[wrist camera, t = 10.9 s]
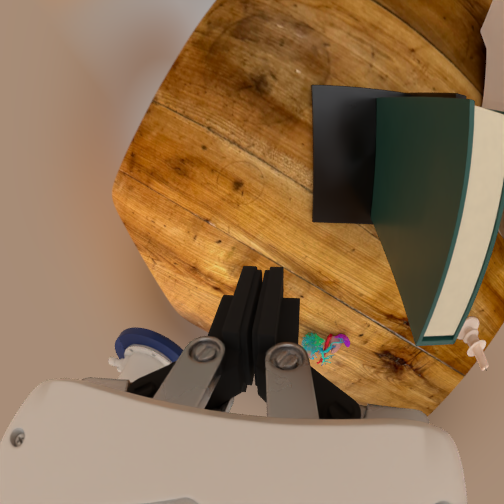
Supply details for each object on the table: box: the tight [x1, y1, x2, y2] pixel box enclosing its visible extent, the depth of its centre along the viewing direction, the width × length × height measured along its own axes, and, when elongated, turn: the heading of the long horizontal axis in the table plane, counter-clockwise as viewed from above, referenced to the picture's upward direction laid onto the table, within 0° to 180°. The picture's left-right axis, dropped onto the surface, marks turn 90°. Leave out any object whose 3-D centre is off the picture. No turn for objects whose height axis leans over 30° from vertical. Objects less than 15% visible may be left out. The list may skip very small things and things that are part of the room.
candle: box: [457, 317, 489, 371], centre depth 34 cm, size 5×5×10 cm
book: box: [371, 97, 504, 346], centre depth 20 cm, size 20×14×3 cm
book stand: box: [311, 85, 466, 224], centre depth 24 cm, size 11×16×13 cm
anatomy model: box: [301, 333, 350, 366], centre depth 42 cm, size 5×8×7 cm
